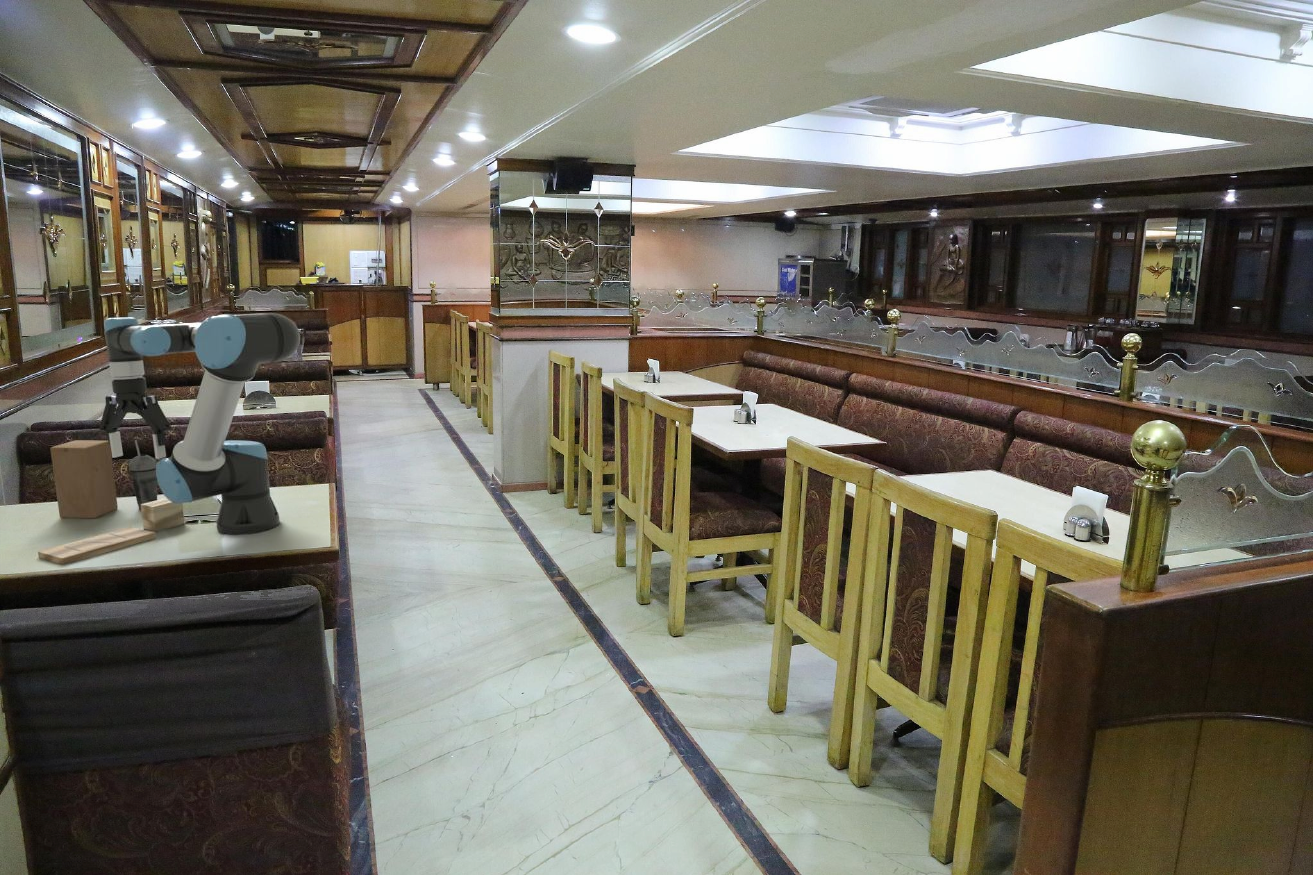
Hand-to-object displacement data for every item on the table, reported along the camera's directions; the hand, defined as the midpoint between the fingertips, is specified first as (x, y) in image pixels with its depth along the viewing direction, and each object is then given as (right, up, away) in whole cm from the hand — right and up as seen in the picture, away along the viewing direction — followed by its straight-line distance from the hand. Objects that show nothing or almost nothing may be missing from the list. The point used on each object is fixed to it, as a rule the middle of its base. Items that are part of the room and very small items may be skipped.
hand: (139, 457), depth 222 cm
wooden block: (-22, -16, +13) cm, 30 cm away
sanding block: (+6, -19, +1) cm, 20 cm away
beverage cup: (-9, -15, +19) cm, 26 cm away
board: (0, -22, -15) cm, 27 cm away
